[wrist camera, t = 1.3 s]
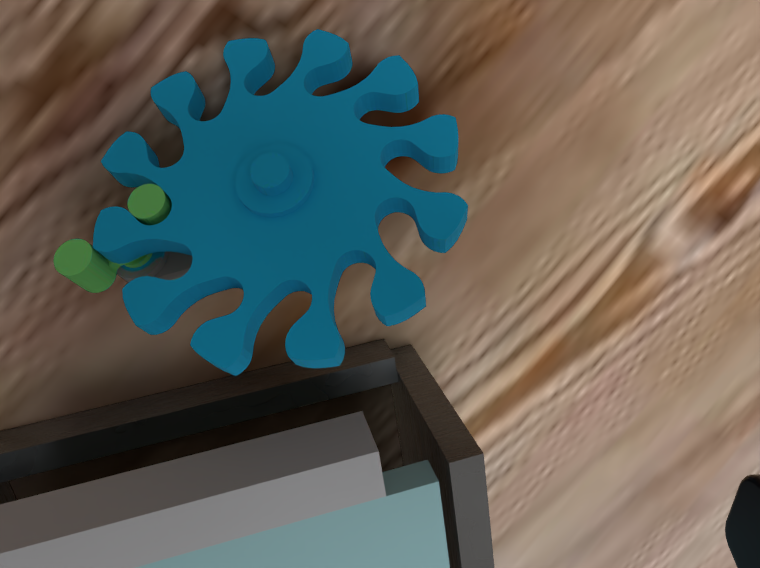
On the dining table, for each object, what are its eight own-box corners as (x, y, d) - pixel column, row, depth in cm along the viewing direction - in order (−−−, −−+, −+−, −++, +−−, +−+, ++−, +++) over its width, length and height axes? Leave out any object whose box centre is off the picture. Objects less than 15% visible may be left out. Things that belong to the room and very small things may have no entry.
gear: (408, -27, 18) (526, 295, 14) (417, 103, 24) (505, 360, 20) (28, 80, 18) (50, 428, 14) (126, 184, 24) (160, 456, 20)
